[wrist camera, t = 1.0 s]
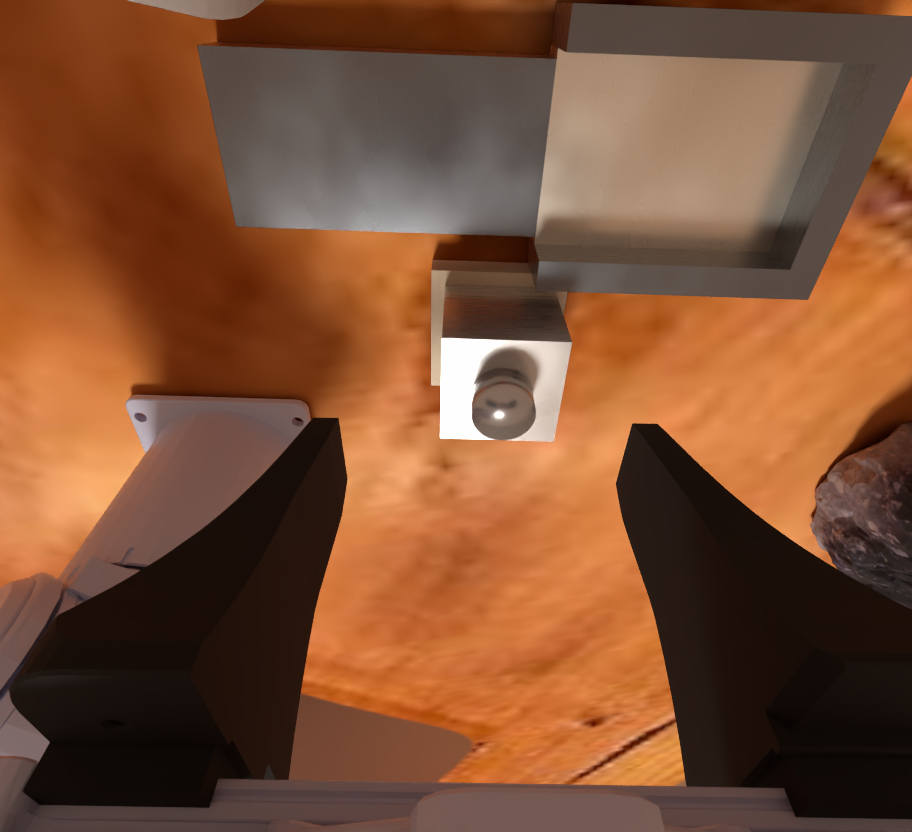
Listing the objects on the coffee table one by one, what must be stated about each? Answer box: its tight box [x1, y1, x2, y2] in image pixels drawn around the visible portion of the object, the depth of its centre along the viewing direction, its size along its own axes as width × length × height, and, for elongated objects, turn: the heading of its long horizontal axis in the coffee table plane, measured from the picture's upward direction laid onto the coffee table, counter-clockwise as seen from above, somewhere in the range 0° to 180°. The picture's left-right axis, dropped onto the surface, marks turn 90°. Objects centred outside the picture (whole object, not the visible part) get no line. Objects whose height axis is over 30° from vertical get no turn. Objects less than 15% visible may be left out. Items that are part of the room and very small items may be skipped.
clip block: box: [440, 284, 572, 442], centre depth 19 cm, size 4×4×5 cm
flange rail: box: [197, 3, 912, 300], centre depth 17 cm, size 8×19×3 cm, turn 88°
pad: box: [431, 260, 567, 386], centre depth 21 cm, size 5×5×1 cm
